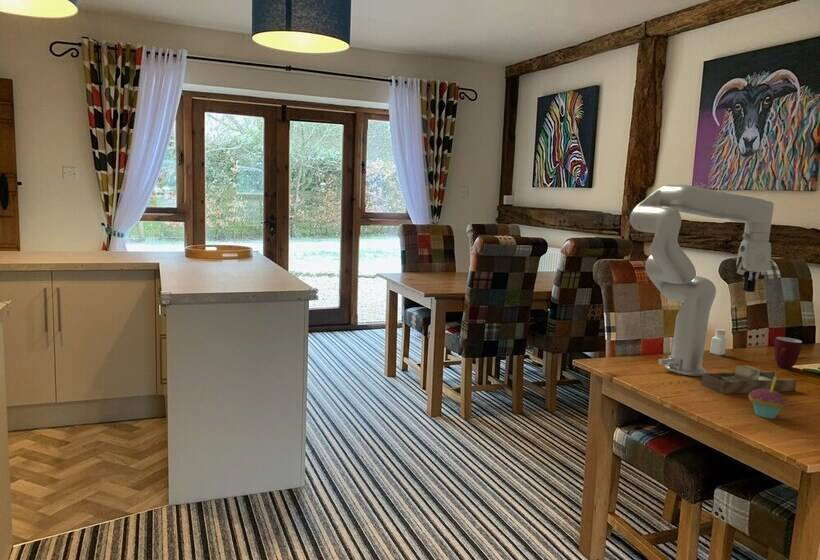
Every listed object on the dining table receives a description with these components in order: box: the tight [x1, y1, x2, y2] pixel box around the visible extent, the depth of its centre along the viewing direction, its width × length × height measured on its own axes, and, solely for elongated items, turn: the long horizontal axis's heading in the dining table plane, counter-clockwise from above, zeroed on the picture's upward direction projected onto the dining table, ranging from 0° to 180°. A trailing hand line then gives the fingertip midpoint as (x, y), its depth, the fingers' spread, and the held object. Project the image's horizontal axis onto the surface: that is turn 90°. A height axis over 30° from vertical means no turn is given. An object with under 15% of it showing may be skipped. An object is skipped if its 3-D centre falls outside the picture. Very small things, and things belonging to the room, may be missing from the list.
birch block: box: [734, 365, 761, 381], centre depth 181 cm, size 4×4×4 cm
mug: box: [773, 336, 803, 370], centre depth 208 cm, size 10×8×10 cm
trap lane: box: [700, 370, 797, 395], centre depth 183 cm, size 28×9×4 cm, turn 106°
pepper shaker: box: [709, 328, 728, 357], centre depth 222 cm, size 4×4×10 cm
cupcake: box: [747, 374, 786, 419], centre depth 158 cm, size 9×8×12 cm
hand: (748, 291), depth 202 cm, fingers closed
